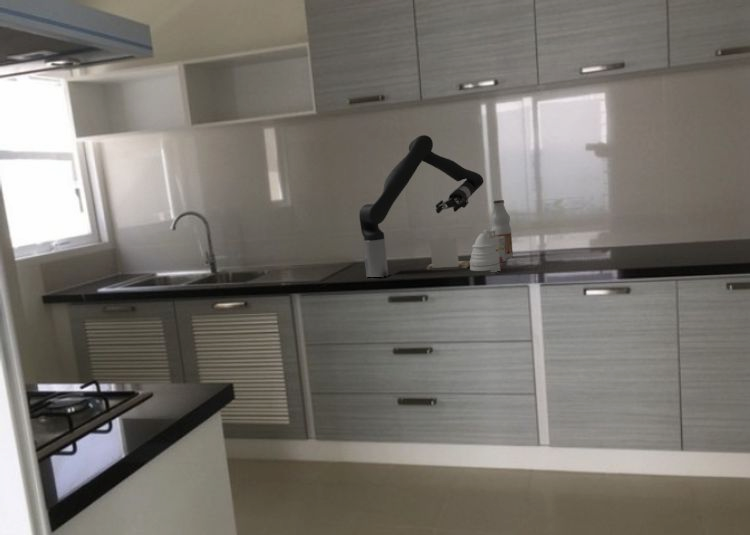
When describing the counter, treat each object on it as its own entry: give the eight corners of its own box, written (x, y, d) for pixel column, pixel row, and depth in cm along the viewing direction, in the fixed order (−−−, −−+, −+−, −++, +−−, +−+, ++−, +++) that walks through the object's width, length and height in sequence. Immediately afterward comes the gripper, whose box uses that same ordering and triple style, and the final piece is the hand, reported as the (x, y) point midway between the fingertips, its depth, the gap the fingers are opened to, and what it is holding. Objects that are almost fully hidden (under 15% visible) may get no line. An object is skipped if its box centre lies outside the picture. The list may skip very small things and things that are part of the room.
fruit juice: (499, 260, 310) (495, 201, 306) (489, 258, 319) (485, 201, 315) (516, 257, 313) (512, 199, 309) (506, 256, 322) (502, 199, 318)
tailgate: (432, 271, 292) (429, 239, 289) (433, 271, 293) (430, 238, 291) (458, 270, 287) (455, 237, 285) (459, 270, 288) (456, 237, 286)
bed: (427, 272, 294) (426, 266, 294) (434, 268, 305) (433, 262, 304) (466, 271, 288) (465, 264, 287) (471, 267, 298) (471, 260, 297)
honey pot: (500, 268, 287) (497, 227, 284) (499, 273, 274) (496, 230, 272) (471, 270, 290) (468, 230, 287) (469, 275, 277) (465, 233, 275)
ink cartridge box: (500, 263, 300) (498, 231, 298) (490, 263, 303) (487, 232, 301) (506, 260, 307) (504, 229, 305) (496, 260, 310) (494, 230, 308)
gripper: (444, 190, 305) (429, 204, 293) (471, 187, 297) (458, 201, 285) (448, 205, 308) (434, 219, 296) (475, 202, 300) (462, 216, 288)
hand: (445, 210), depth 290 cm, fingers open, 8 cm apart
